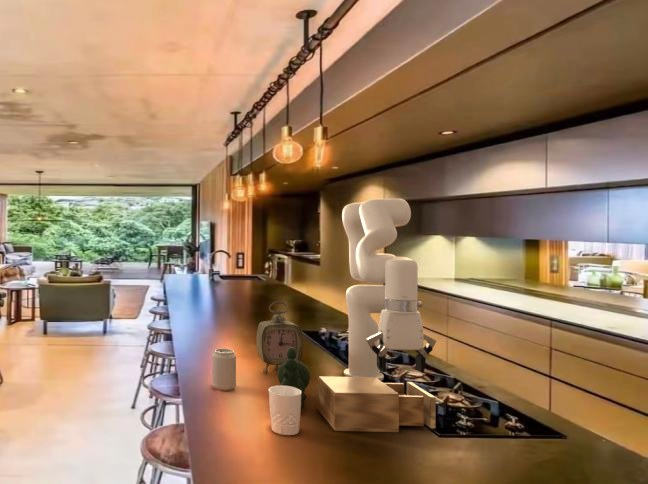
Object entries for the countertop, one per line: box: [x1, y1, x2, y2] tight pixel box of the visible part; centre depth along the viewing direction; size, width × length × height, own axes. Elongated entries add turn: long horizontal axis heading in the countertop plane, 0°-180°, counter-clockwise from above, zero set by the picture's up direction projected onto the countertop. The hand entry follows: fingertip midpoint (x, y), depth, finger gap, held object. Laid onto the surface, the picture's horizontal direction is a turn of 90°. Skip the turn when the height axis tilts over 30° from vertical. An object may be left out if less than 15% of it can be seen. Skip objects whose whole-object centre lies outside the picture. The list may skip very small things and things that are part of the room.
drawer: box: [383, 381, 447, 429], centre depth 125 cm, size 19×12×8 cm, turn 87°
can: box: [211, 348, 237, 392], centre depth 153 cm, size 8×8×12 cm
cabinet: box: [318, 375, 400, 433], centre depth 126 cm, size 16×14×10 cm
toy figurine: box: [277, 347, 311, 410], centre depth 140 cm, size 9×19×25 cm
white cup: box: [268, 384, 302, 436], centre depth 120 cm, size 8×8×10 cm
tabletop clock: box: [255, 301, 304, 375], centre depth 171 cm, size 14×9×25 cm, turn 91°
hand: (400, 371), depth 126 cm, fingers open, 9 cm apart
